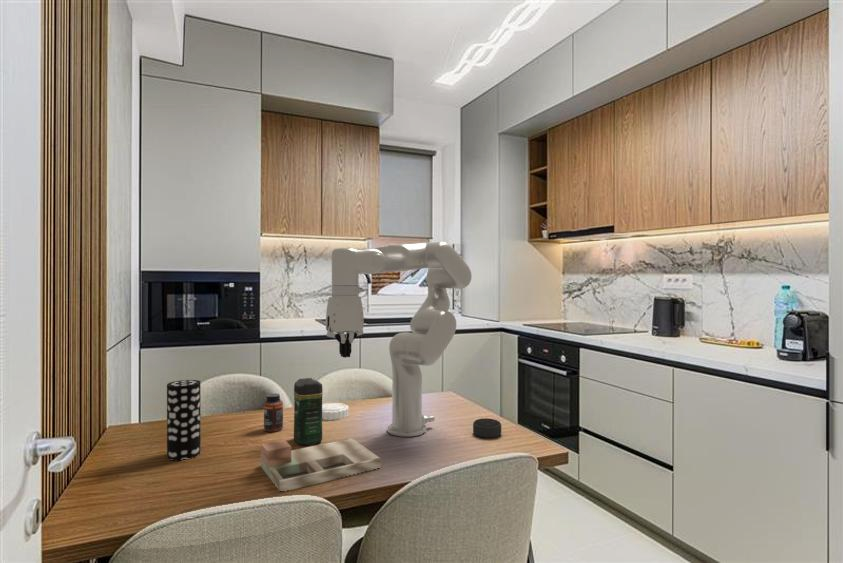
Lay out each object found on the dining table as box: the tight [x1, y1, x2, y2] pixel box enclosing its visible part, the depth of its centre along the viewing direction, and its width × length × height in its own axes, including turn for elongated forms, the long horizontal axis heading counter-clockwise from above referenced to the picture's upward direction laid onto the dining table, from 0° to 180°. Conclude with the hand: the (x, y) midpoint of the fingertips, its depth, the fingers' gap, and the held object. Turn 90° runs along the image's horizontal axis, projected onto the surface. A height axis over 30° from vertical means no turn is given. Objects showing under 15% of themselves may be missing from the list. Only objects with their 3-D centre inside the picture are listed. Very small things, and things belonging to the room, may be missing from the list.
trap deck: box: [259, 438, 382, 492], centre depth 123 cm, size 26×18×2 cm
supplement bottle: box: [263, 393, 284, 433], centre depth 153 cm, size 6×6×11 cm
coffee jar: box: [293, 377, 324, 446], centre depth 143 cm, size 10×8×19 cm
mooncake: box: [322, 402, 350, 421], centre depth 169 cm, size 12×12×4 cm
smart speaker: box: [472, 417, 502, 439], centre depth 150 cm, size 9×9×4 cm
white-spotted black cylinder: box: [166, 379, 202, 460], centre depth 131 cm, size 8×8×20 cm
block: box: [260, 439, 292, 467], centre depth 121 cm, size 6×6×4 cm
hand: (345, 356), depth 134 cm, fingers closed
